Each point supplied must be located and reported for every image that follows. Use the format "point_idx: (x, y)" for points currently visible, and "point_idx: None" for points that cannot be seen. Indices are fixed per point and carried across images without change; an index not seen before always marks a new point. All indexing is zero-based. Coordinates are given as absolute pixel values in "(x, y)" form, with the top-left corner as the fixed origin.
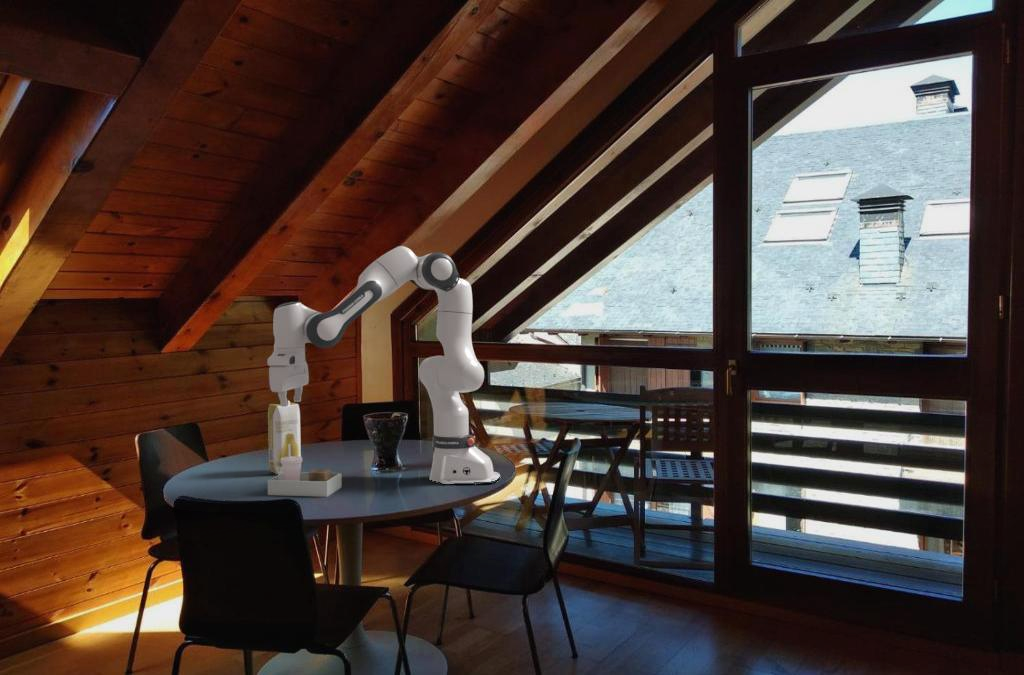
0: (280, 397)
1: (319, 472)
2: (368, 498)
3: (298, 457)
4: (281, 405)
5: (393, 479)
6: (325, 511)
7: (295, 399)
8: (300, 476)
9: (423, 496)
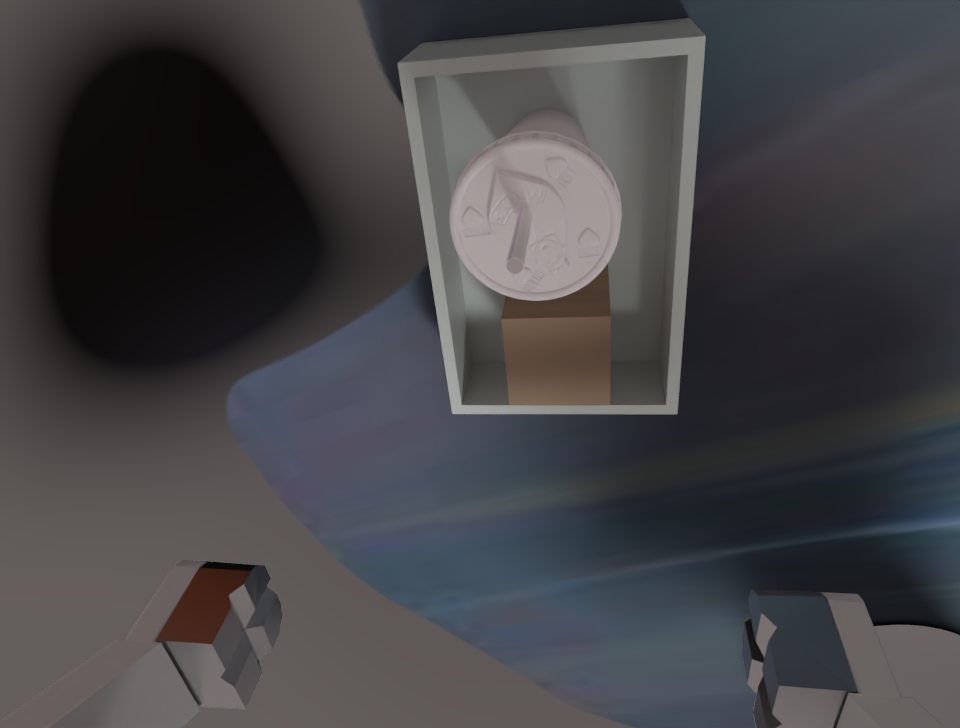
0: (58, 708)
1: (519, 374)
2: (519, 498)
3: (586, 257)
4: (181, 574)
5: (901, 510)
6: (290, 416)
7: (762, 643)
8: (676, 166)
9: (583, 634)
